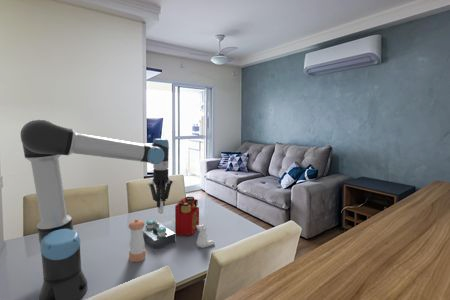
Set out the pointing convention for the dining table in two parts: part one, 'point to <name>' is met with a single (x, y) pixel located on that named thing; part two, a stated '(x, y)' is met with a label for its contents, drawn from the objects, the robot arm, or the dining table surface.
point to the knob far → (150, 224)
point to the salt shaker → (136, 241)
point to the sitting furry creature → (203, 237)
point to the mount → (157, 241)
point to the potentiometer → (155, 226)
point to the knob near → (161, 231)
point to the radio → (186, 216)
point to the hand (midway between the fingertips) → (160, 212)
